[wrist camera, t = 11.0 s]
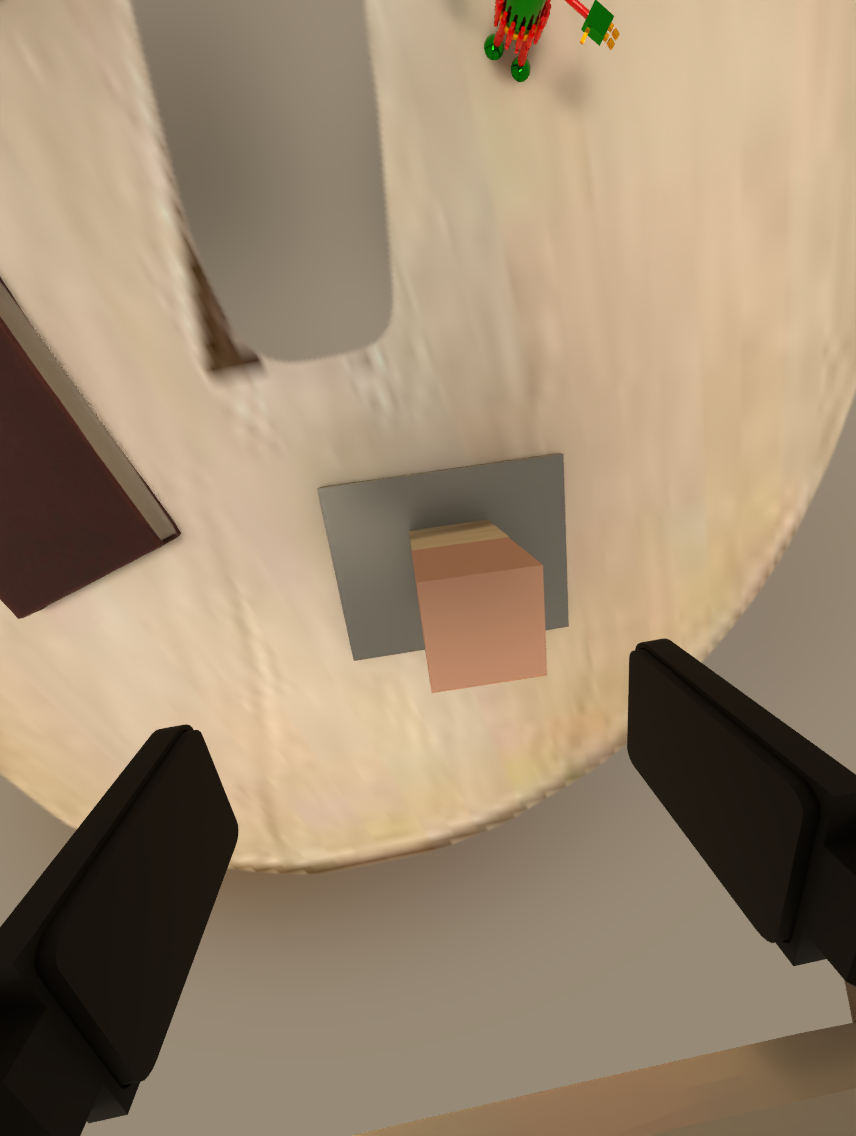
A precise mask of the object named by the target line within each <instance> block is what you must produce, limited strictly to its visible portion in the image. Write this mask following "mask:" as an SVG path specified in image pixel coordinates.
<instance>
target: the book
mask: <svg viewBox="0 0 856 1136" xmlns="http://www.w3.org/2000/svg"><path fill="white" fill-rule="evenodd" d="M180 534H181V533H180V531H179V530H178V528H177V527H176V525H175V523H174V522H173V520H172V519H171V517H170V516H169V515H168V513H167V512H166V510H165V509H164V508H163V506H162V505H161V504H160V502H159V501H158V499H157V498H156V497H155V495H154V494H153V492H152V491H151V490H150V488H149V487H148V485H147V484H146V482H145V481H144V480H143V478H142V477H141V476H140V475H139V474H138V472H137V471H136V470H135V468H134V467H133V465H132V464H131V463H130V461H129V460H128V459H127V457H126V456H125V455H124V453H123V452H122V451H121V449H120V448H119V447H118V445H117V444H116V443H115V441H114V440H113V439H112V437H111V436H110V434H109V433H108V432H107V430H106V429H105V427H104V426H103V425H102V423H101V422H100V421H99V419H98V418H97V416H96V415H95V414H94V412H93V411H92V410H91V408H90V407H89V405H88V404H87V403H86V401H85V400H84V398H83V397H82V396H81V394H80V393H79V391H78V390H77V389H76V387H75V386H74V384H73V383H72V382H71V381H70V379H69V378H68V377H67V375H66V374H65V372H64V371H63V370H62V368H61V367H60V365H59V364H58V362H57V361H56V360H55V358H54V357H53V355H52V354H51V353H50V351H49V350H48V348H47V347H46V346H45V344H44V343H43V341H42V340H41V339H40V337H39V336H38V334H37V333H36V331H35V330H34V328H33V327H32V325H31V324H30V322H29V321H28V319H27V318H26V316H25V315H24V313H23V312H22V310H21V308H20V307H19V305H18V304H17V302H16V301H15V299H14V297H13V296H12V294H11V293H10V291H9V290H8V288H7V287H6V285H5V284H4V282H3V281H2V279H1V278H0V600H1V601H2V602H3V603H4V604H5V605H6V606H7V607H8V608H9V609H10V610H11V611H12V612H13V613H14V614H15V616H16V617H17V618H18V619H20V618H24V617H26V616H29V615H31V614H32V613H35V612H37V611H39V610H42V609H43V608H45V607H47V605H49V604H51V603H53V602H55V601H57V600H59V599H61V598H63V597H65V596H67V595H69V594H71V593H73V592H75V591H77V590H79V589H81V588H83V587H85V586H86V585H88V584H90V583H92V582H94V581H96V580H98V579H100V578H102V577H104V576H105V575H107V574H109V573H111V572H113V571H114V570H116V569H118V568H120V567H122V566H124V565H126V564H128V563H130V562H132V561H134V560H136V559H138V558H139V557H141V556H143V555H145V554H147V553H149V552H151V551H153V550H155V549H157V548H159V547H161V546H162V545H164V544H166V543H168V542H170V541H171V540H173V539H175V538H176V537H177V536H178V535H180Z"/></svg>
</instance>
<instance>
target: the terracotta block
mask: <svg viewBox="0 0 856 1136" xmlns="http://www.w3.org/2000/svg"><path fill="white" fill-rule="evenodd" d="M412 559H413V566H414V573H415V580H416V588H417V595H418V602H419V610H420V617H421V624H422V632H423V639H424V645H425V652H426V658H427V665H428V671H429V678H430V684H431V691H432V693H435V692H442V691H448V690H455V689H461V688H468V687H474V686H481V685H487V684H494V683H500V682H507V681H514V680H520V679H527V678H533V677H540V676H546V675H547V662H546V634H545V607H544V579H543V565H542V564H541V563H540V562H539V561H537V560H536V559H535V558H534V557H532V556H531V555H530V554H529V553H527V552H526V551H525V550H524V549H523V548H521V547H520V546H519V545H518V544H516V543H515V542H514V541H513V540H511V539H510V538H509V537H506V538H499V539H492V540H484V541H477V542H470V543H463V544H455V545H448V546H441V547H434V548H426V549H419V550H412Z"/></svg>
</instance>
